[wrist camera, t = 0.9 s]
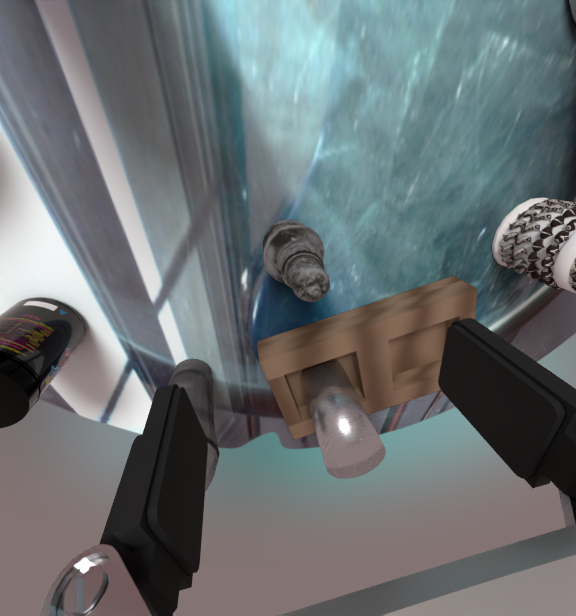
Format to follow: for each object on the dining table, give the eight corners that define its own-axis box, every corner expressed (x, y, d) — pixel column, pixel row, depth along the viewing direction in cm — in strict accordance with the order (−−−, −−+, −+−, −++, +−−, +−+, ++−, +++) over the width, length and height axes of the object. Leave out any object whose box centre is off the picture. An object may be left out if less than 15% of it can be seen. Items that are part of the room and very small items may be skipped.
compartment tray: (453, 275, 36) (477, 289, 32) (450, 361, 43) (469, 380, 40) (256, 341, 35) (259, 362, 32) (288, 416, 43) (293, 439, 39)
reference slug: (339, 351, 36) (382, 431, 26) (346, 383, 39) (387, 466, 29) (295, 366, 36) (320, 452, 26) (306, 397, 39) (332, 485, 29)
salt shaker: (302, 277, 32) (336, 337, 22) (252, 263, 30) (264, 321, 20) (323, 227, 30) (372, 268, 19) (270, 208, 28) (293, 242, 17)
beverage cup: (202, 401, 38) (178, 605, 21) (150, 380, 35) (74, 600, 18) (233, 366, 36) (236, 559, 19) (182, 340, 33) (130, 544, 16)
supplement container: (19, 346, 30) (-70, 429, 21) (5, 290, 27) (-106, 358, 18) (91, 351, 32) (37, 429, 23) (85, 298, 29) (20, 364, 20)
